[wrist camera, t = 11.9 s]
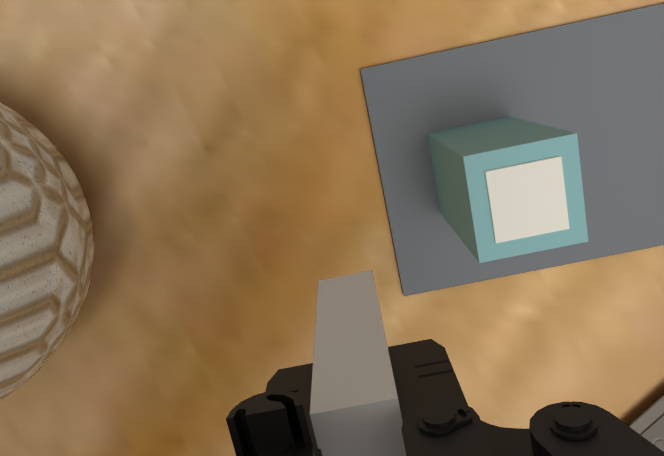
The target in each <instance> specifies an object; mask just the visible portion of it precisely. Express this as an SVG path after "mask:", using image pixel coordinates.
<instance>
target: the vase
mask: <svg viewBox="0 0 664 456" xmlns="http://www.w3.org/2000/svg"><path fill="white" fill-rule="evenodd" d="M93 258H94V236H93V227H92V221H91V217H90V212H89V208H88V205H87V202H86V199H85V196H84V193H83V191H82V188H81V186H80V184H79V182H78V180H77V178H76V176H75V174H74V173H73V171H72V169H71V167H70V166H69V164H68V163H67V162H66V160H65V159H64V157H63V156H62V155H61V153H60V152H59V151H58V150H57V148H56V147H55V146H54V145H53V144H52V143H51V142H50V141H49V139H48V138H47V137H46V136H45V135H44V134H43V133H42V132H41V131H39V130H38V129H37V128H36V127H35V126H34V125H33V124H31V123H30V122H29V121H28V120H27V119H25V118H24V117H22V116H21V115H20V114H18V113H17V112H15V111H14V110H12V109H10V108H9V107H7V106H5V105H4V104H2V103H1V102H0V400H2V399H3V398H5V397H6V396H8V395H9V394H11V393H12V392H13V391H15V390H16V389H17V388H19V387H20V386H21V385H23V384H24V383H25V382H26V381H28V380H29V379H30V378H31V377H32V376H33V375H34V374H35V373H36V372H38V371H39V370H40V368H41V367H42V366H43V365H44V364H45V363H46V362H47V361H48V359H49V358H50V357H51V356H52V355H53V354H54V352H55V351H56V350H57V348H58V347H59V346H60V344H61V343H62V341H63V340H64V338H65V337H66V335H67V334H68V332H69V331H70V329H71V327H72V326H73V324H74V322H75V320H76V318H77V316H78V314H79V312H80V309H81V307H82V305H83V303H84V300H85V298H86V295H87V292H88V288H89V284H90V279H91V274H92V267H93Z"/></svg>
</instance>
